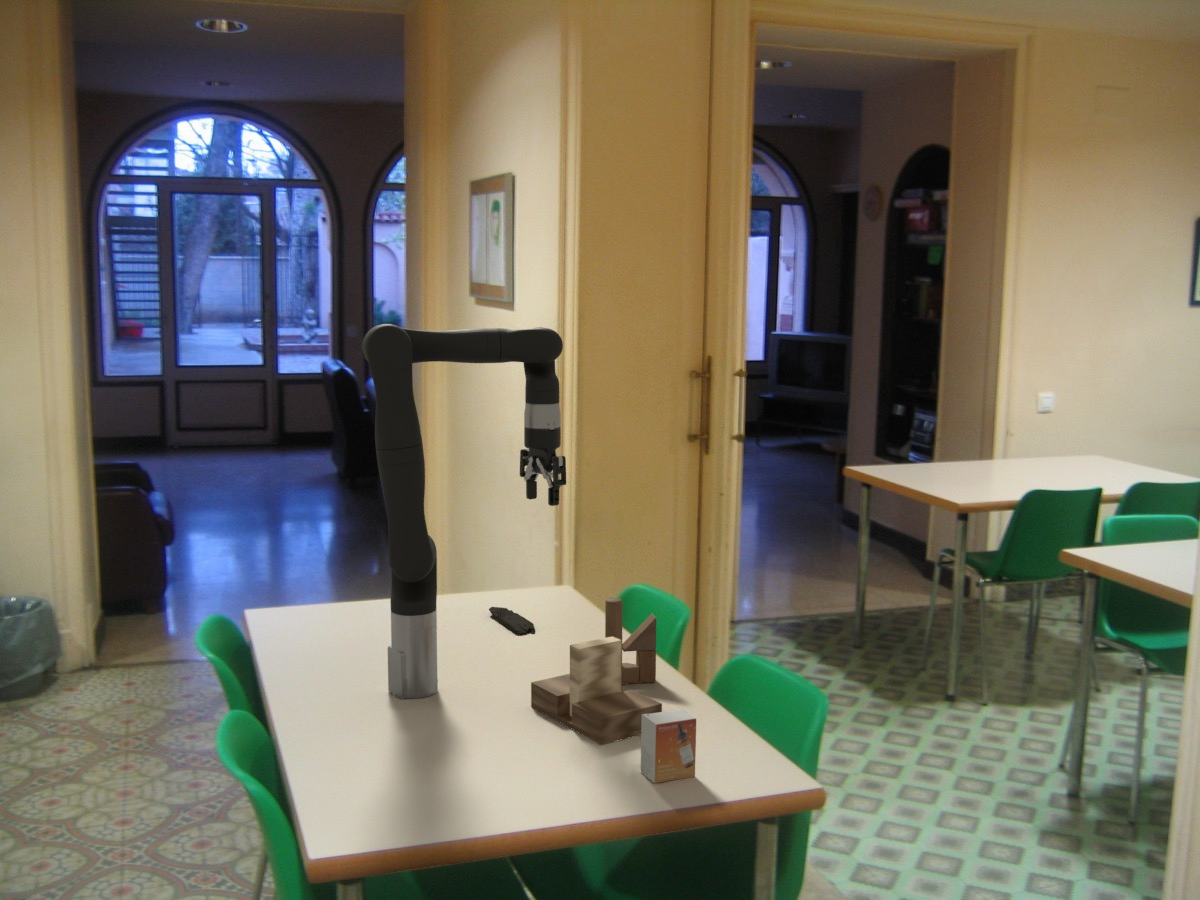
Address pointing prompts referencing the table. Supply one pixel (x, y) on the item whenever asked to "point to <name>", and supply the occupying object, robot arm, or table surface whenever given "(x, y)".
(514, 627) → the wood
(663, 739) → the small box
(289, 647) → the table surface
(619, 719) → the slotted plate
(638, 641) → the wooden toy block structure
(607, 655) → the maple slat
